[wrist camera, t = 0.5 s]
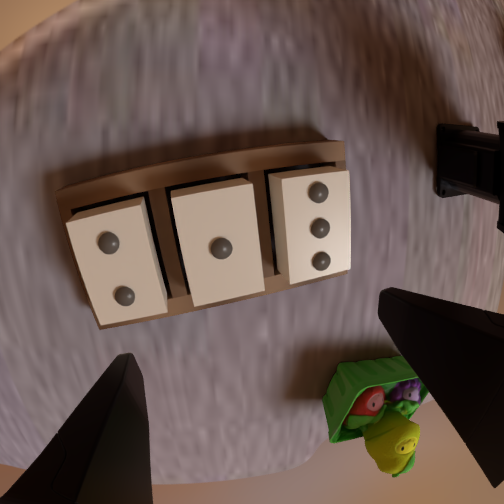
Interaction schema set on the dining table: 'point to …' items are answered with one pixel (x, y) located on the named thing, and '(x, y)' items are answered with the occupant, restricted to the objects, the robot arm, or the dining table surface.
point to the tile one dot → (219, 240)
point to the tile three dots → (311, 222)
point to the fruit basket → (377, 409)
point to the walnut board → (190, 170)
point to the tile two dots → (118, 261)
